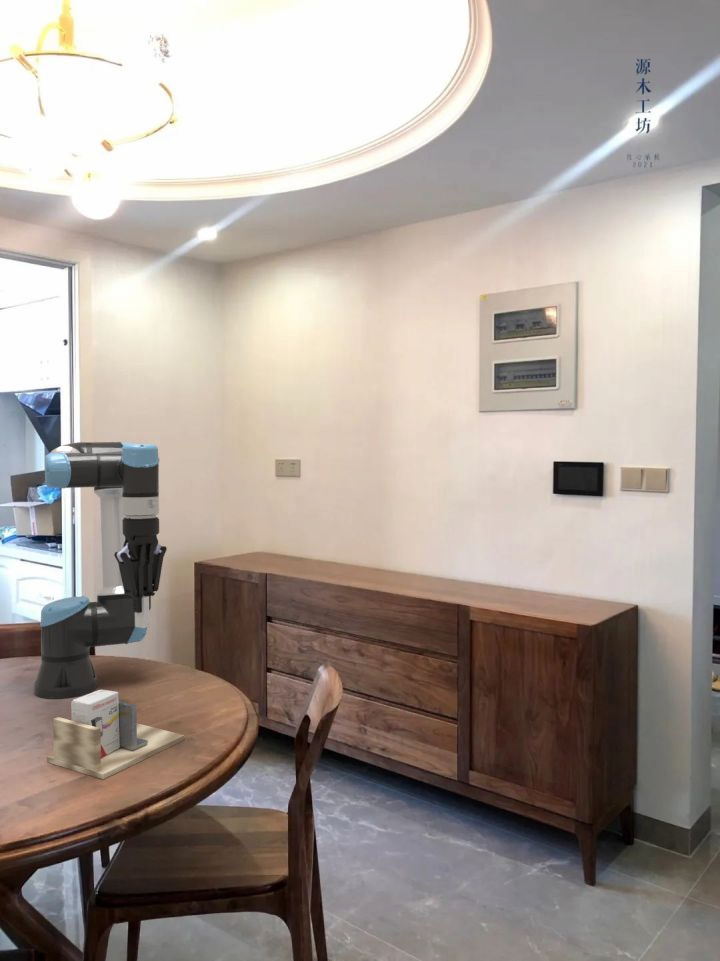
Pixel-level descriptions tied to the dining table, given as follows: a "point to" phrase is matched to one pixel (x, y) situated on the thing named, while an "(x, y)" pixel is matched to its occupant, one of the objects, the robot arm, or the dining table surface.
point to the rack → (83, 748)
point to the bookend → (129, 727)
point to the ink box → (100, 716)
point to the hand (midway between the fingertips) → (142, 626)
